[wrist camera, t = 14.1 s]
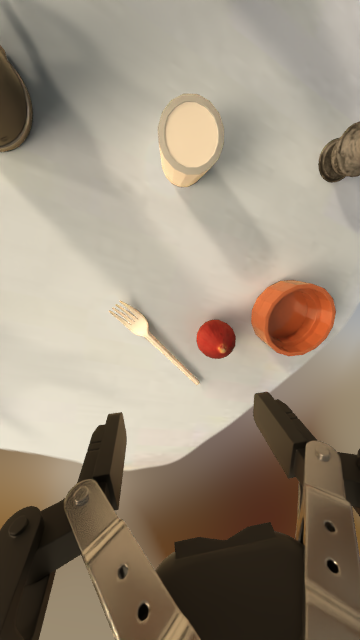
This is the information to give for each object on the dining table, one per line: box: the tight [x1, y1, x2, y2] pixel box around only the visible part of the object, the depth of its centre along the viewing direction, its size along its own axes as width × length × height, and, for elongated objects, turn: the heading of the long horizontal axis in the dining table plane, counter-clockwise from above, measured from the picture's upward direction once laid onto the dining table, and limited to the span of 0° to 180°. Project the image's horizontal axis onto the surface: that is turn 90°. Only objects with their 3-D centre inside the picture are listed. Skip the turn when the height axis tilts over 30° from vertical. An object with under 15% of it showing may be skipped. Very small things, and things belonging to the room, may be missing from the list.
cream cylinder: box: [158, 94, 224, 187], centre depth 25 cm, size 7×7×7 cm
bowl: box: [251, 280, 336, 356], centre depth 34 cm, size 11×11×5 cm
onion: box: [197, 320, 236, 359], centre depth 32 cm, size 6×6×8 cm
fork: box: [109, 301, 200, 385], centre depth 35 cm, size 3×20×2 cm, turn 41°
